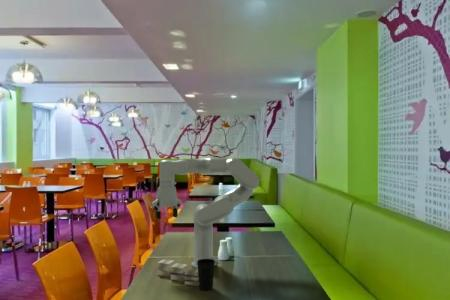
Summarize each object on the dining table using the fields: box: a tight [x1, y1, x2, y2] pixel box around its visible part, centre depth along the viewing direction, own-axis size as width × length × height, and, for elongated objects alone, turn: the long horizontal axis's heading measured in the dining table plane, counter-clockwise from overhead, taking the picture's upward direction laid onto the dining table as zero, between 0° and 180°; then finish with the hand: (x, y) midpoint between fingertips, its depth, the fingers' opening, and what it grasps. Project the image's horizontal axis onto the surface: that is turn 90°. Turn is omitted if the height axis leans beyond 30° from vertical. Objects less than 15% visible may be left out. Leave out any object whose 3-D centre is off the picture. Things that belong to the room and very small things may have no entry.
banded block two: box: [183, 267, 199, 287], centre depth 191 cm, size 6×6×6 cm
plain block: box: [156, 258, 175, 277], centre depth 204 cm, size 6×6×6 cm
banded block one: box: [170, 262, 189, 282], centre depth 198 cm, size 6×6×6 cm
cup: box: [197, 259, 216, 292], centre depth 183 cm, size 8×8×12 cm
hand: (166, 217), depth 215 cm, fingers open, 9 cm apart
